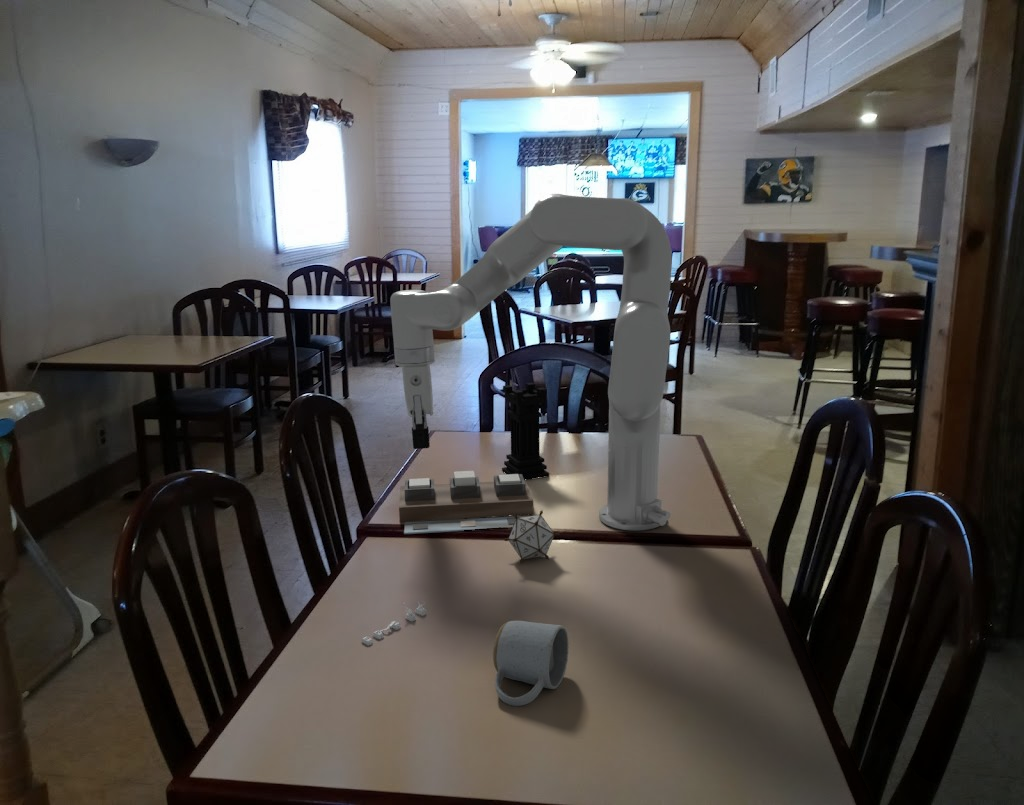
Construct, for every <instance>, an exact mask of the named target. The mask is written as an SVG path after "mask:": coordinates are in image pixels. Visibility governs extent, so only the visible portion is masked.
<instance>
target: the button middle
mask: <svg viewBox="0 0 1024 805" xmlns="http://www.w3.org/2000/svg"><path fill="white" fill-rule="evenodd" d="M475 477H476V476H475V471H474V470H462V471H453V478H454V483H455V486H472V485H475Z"/></svg>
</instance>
